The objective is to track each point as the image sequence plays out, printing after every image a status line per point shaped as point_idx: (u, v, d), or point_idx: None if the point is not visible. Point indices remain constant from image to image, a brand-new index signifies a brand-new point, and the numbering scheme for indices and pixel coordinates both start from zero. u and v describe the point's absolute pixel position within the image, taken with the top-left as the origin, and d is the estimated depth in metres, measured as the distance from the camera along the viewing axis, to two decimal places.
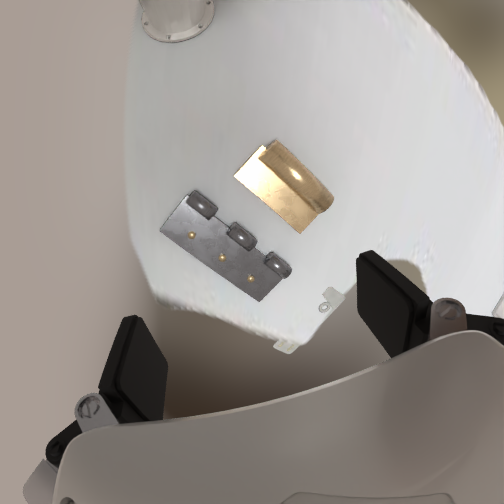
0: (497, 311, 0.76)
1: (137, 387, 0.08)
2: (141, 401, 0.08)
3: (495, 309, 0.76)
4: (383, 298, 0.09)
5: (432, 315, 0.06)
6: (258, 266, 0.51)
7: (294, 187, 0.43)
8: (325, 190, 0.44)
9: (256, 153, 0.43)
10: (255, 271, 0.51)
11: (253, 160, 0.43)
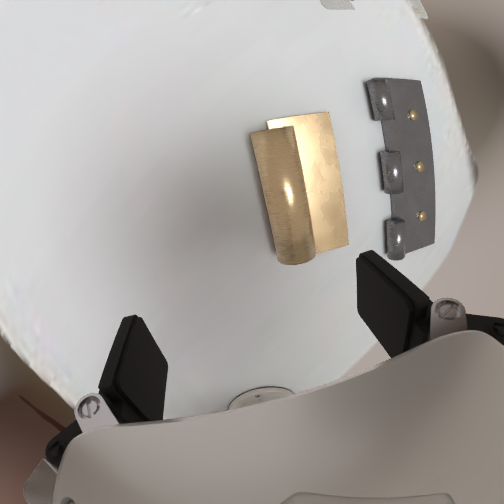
0: None
1: (137, 387, 0.08)
2: (141, 401, 0.08)
3: None
4: (383, 298, 0.09)
5: (432, 315, 0.06)
6: (398, 120, 0.27)
7: (304, 191, 0.26)
8: (263, 154, 0.24)
9: None
10: (404, 117, 0.27)
11: (318, 248, 0.32)
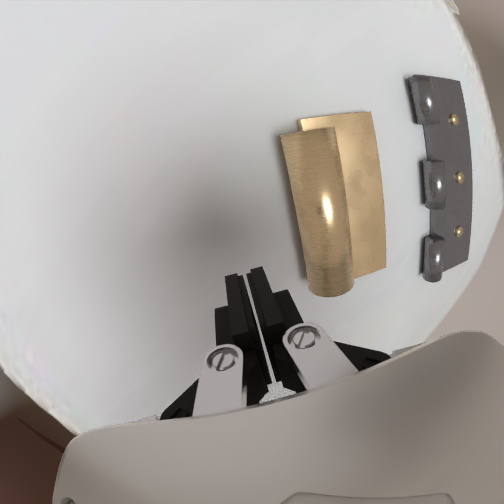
0: None
1: (258, 337, 0.09)
2: (261, 352, 0.09)
3: None
4: None
5: (290, 351, 0.07)
6: (440, 124, 0.21)
7: (347, 209, 0.21)
8: (298, 162, 0.19)
9: None
10: (446, 122, 0.21)
11: (354, 272, 0.26)
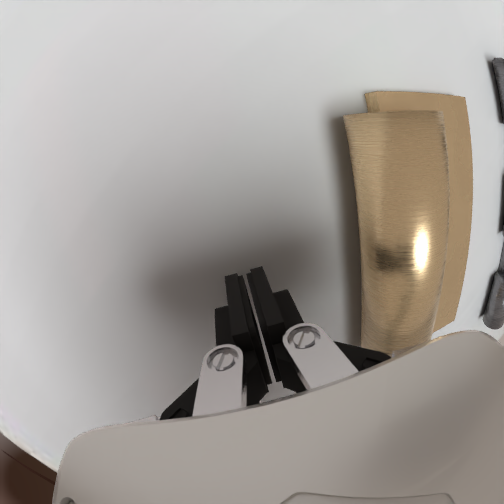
0: None
1: (258, 337, 0.09)
2: (261, 352, 0.09)
3: None
4: None
5: (290, 351, 0.07)
6: None
7: None
8: (390, 174, 0.08)
9: None
10: None
11: None
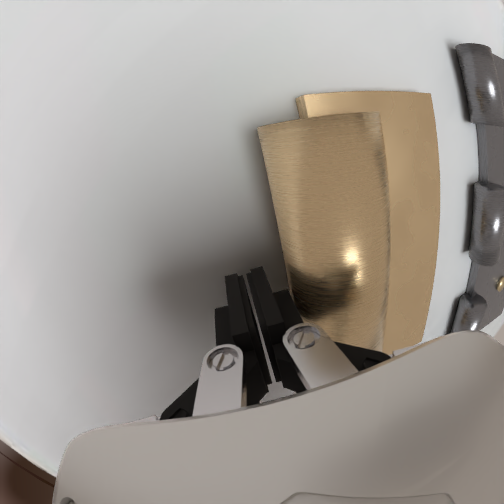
0: None
1: (258, 337, 0.09)
2: (261, 352, 0.09)
3: None
4: None
5: (290, 351, 0.07)
6: (499, 126, 0.10)
7: (389, 286, 0.10)
8: (298, 195, 0.08)
9: None
10: None
11: None
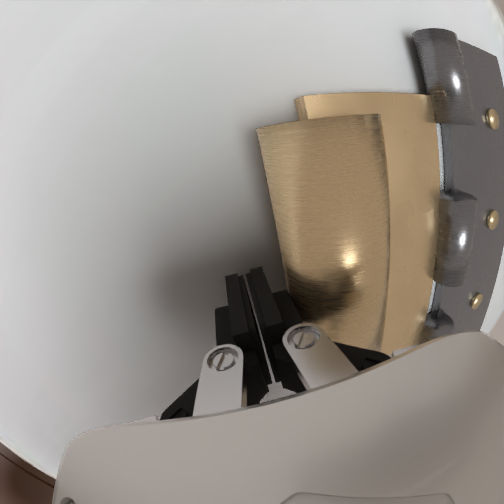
0: None
1: (259, 337, 0.09)
2: (262, 351, 0.09)
3: None
4: None
5: (290, 351, 0.07)
6: (471, 126, 0.10)
7: (388, 289, 0.10)
8: (297, 198, 0.08)
9: None
10: (479, 122, 0.10)
11: None
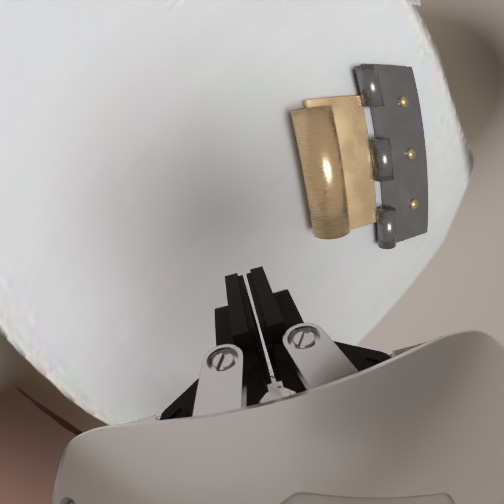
0: None
1: (258, 337, 0.09)
2: (261, 352, 0.09)
3: None
4: None
5: (290, 351, 0.07)
6: (388, 106, 0.26)
7: (342, 168, 0.26)
8: (305, 131, 0.24)
9: None
10: (394, 104, 0.26)
11: (349, 224, 0.32)
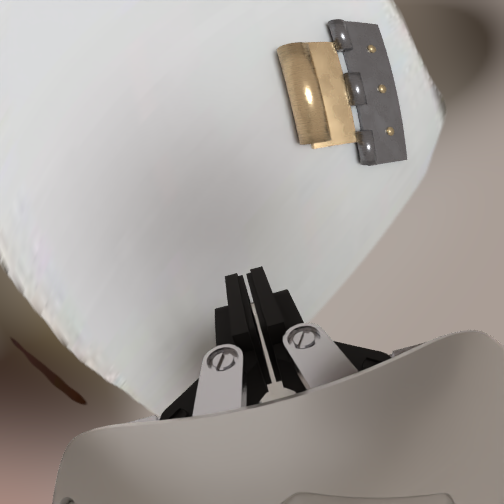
0: None
1: (258, 337, 0.09)
2: (261, 352, 0.09)
3: None
4: None
5: (290, 351, 0.07)
6: (357, 51, 0.29)
7: (320, 88, 0.29)
8: (288, 60, 0.27)
9: (325, 145, 0.35)
10: (363, 50, 0.29)
11: (332, 140, 0.35)
